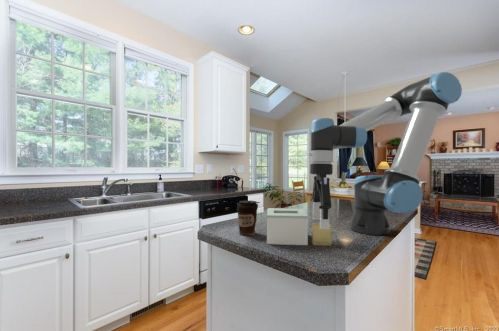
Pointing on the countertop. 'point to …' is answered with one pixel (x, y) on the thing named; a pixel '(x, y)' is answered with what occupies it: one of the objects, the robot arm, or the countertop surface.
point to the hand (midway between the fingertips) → (320, 224)
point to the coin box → (287, 226)
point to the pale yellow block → (321, 235)
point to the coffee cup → (247, 217)
